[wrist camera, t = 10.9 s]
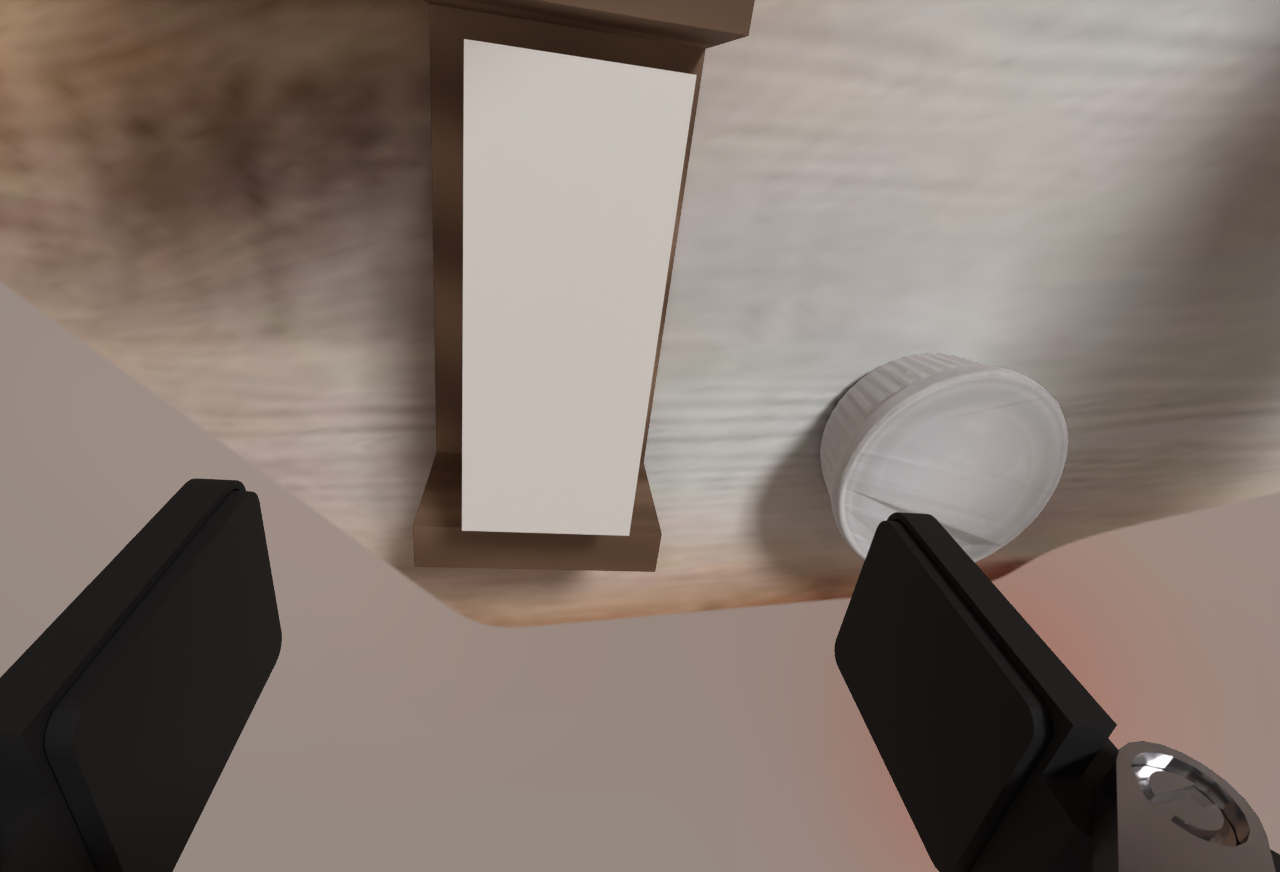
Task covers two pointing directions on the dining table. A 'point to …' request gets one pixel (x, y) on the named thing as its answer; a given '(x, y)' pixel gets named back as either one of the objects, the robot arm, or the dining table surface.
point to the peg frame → (494, 13)
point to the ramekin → (943, 451)
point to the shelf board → (563, 281)
